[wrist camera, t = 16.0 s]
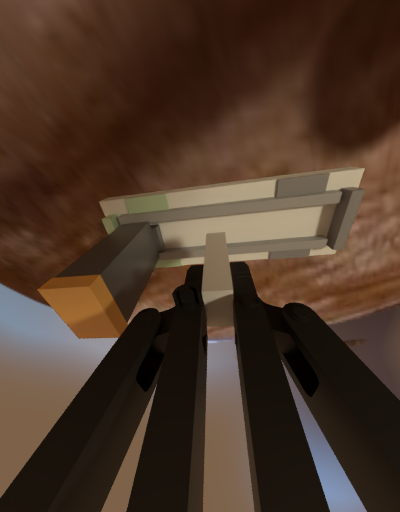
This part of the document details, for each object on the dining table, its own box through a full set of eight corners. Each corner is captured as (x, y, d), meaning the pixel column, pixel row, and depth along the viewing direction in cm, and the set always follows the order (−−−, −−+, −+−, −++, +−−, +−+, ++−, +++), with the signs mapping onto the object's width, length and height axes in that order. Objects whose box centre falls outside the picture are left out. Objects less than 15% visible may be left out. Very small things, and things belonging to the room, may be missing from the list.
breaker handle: (135, 254, 21) (72, 338, 11) (122, 220, 18) (29, 290, 9) (166, 251, 20) (127, 337, 11) (156, 216, 18) (96, 286, 9)
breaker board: (133, 260, 24) (123, 275, 21) (108, 197, 19) (90, 205, 16) (324, 245, 21) (343, 260, 18) (348, 166, 16) (379, 169, 14)
